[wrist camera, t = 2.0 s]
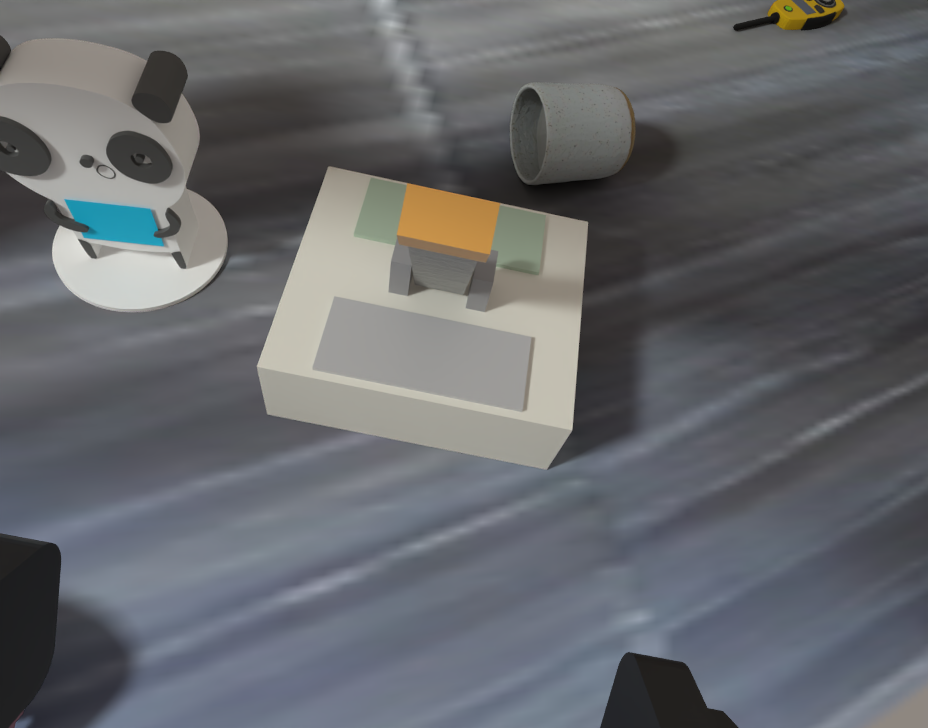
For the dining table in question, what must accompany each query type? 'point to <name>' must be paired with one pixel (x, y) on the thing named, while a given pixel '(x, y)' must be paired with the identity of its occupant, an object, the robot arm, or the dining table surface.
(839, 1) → the yellow walkie-talkie
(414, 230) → the lever
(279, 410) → the switch box
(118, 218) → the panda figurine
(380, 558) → the dining table surface
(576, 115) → the ceramic mug
